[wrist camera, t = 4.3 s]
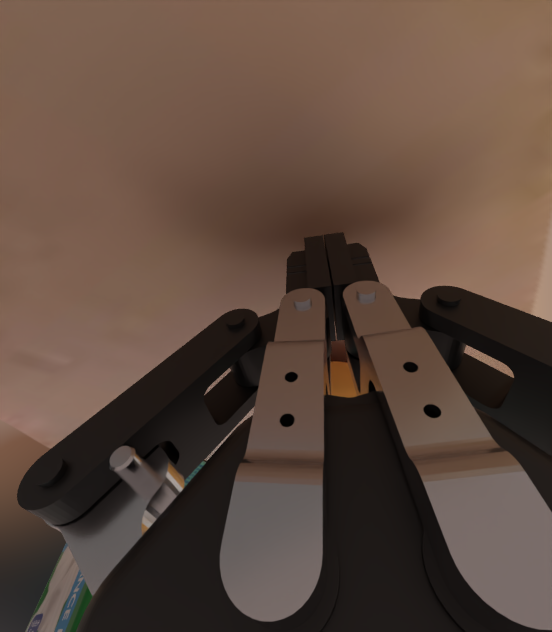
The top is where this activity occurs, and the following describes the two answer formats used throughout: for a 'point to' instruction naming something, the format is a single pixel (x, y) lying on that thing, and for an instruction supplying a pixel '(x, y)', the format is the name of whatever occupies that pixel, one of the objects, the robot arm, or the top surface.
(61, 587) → the milk carton
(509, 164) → the top surface
